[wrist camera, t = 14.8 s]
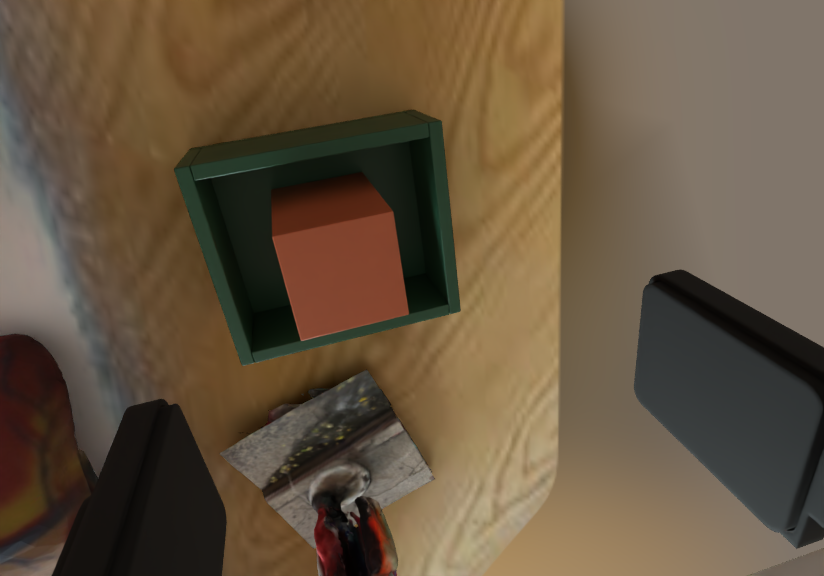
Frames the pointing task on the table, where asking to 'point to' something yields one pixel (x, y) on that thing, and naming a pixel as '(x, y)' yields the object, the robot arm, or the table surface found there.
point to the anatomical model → (36, 460)
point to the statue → (336, 473)
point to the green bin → (306, 162)
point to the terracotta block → (337, 254)
